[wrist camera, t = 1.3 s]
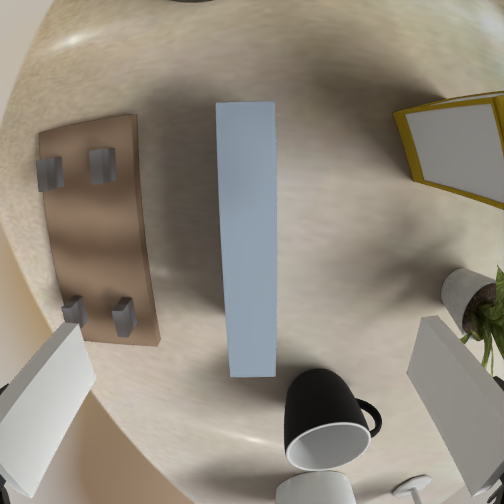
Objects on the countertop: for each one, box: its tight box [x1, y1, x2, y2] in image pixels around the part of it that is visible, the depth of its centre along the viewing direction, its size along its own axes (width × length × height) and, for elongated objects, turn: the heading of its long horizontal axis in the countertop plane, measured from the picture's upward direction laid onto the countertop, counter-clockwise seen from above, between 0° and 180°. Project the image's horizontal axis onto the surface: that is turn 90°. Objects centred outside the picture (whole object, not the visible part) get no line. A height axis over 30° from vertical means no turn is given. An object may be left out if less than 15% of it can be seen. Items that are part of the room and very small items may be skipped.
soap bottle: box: [393, 91, 504, 210], centre depth 17 cm, size 7×13×24 cm, turn 111°
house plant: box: [441, 265, 504, 377], centre depth 25 cm, size 14×14×16 cm
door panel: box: [216, 101, 277, 377], centre depth 26 cm, size 20×4×10 cm, turn 1°
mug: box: [284, 369, 382, 471], centre depth 32 cm, size 12×9×10 cm
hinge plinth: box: [36, 114, 161, 346], centre depth 29 cm, size 24×11×4 cm, turn 1°
